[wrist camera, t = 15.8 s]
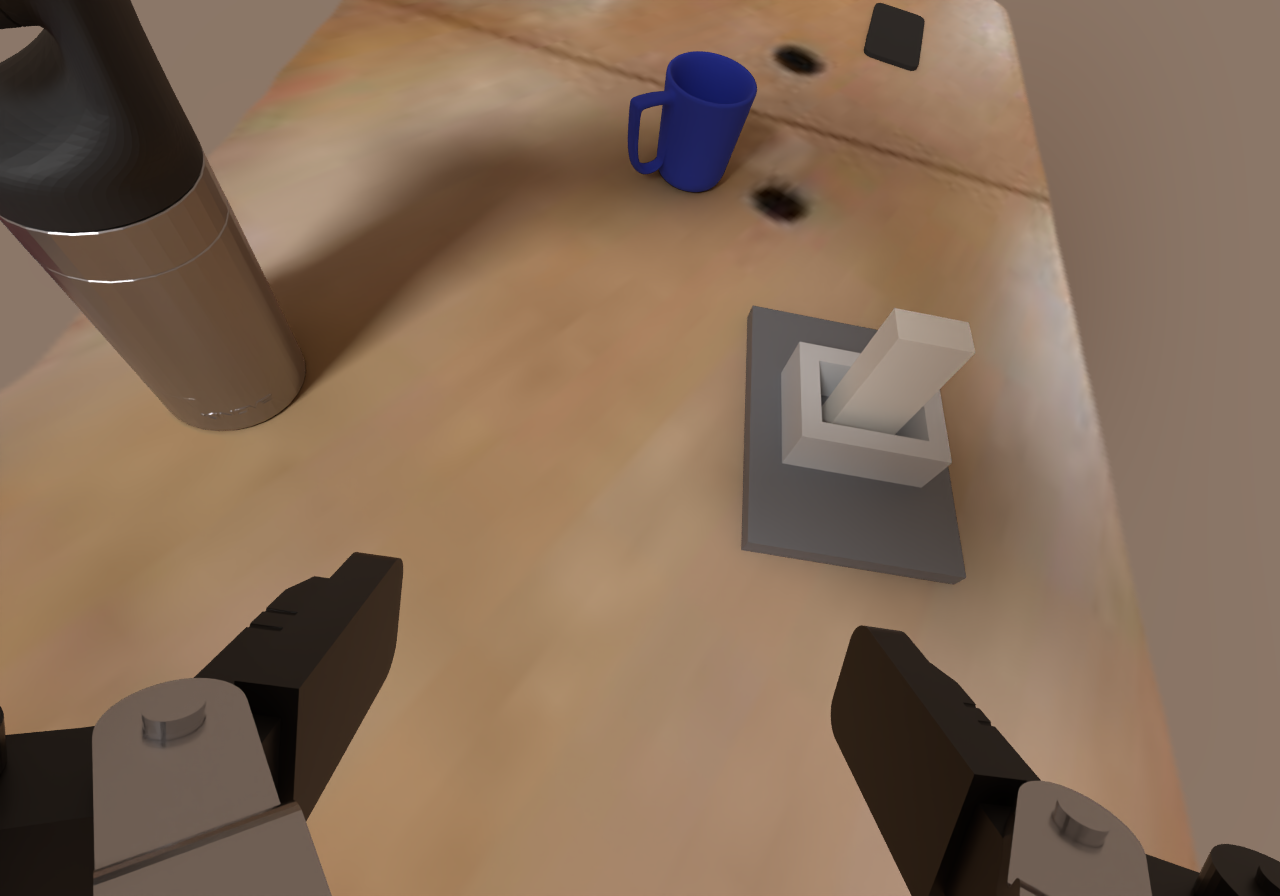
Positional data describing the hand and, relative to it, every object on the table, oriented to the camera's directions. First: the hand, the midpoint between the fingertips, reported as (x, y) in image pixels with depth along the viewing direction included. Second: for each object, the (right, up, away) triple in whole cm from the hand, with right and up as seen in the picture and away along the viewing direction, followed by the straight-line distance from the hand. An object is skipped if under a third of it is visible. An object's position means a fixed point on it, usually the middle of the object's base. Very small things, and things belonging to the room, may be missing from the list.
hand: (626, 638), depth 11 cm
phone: (+35, +59, +75) cm, 102 cm away
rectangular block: (+17, +5, +39) cm, 42 cm away
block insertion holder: (+16, +4, +40) cm, 43 cm away
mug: (+3, +30, +53) cm, 61 cm away
